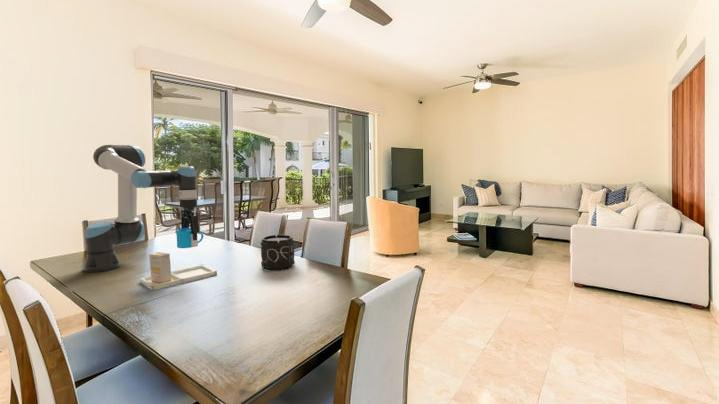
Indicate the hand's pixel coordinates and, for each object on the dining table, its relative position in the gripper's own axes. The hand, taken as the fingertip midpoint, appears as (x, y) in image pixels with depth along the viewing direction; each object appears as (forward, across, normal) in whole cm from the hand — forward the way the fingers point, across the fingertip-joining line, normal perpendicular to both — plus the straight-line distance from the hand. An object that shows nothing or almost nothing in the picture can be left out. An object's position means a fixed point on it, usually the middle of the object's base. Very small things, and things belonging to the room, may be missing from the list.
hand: (191, 245), depth 170 cm
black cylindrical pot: (+16, +19, +37) cm, 44 cm away
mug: (0, 0, 0) cm, 0 cm away
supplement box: (+15, 0, -14) cm, 20 cm away
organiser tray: (+15, 0, -6) cm, 16 cm away
